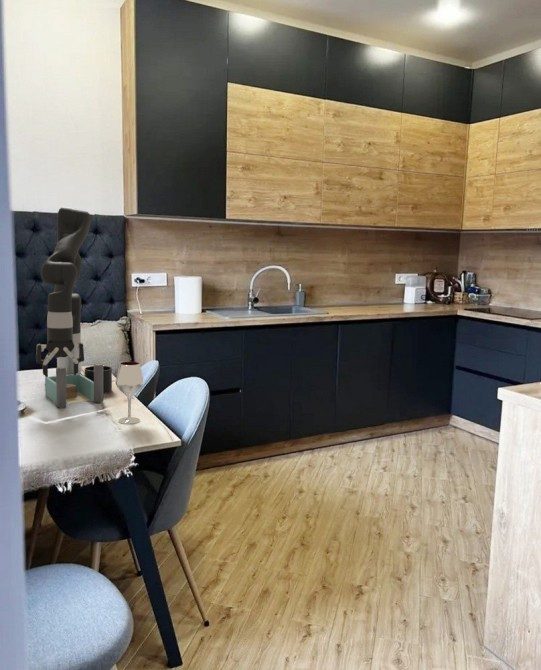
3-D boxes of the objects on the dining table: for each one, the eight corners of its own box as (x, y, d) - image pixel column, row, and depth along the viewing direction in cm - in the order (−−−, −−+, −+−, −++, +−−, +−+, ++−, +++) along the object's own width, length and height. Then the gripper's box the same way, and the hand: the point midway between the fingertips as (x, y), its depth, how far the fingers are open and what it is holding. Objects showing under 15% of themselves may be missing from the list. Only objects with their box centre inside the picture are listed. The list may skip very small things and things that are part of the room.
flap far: (98, 403, 185) (97, 366, 183) (88, 401, 187) (88, 364, 185) (105, 402, 187) (105, 364, 185) (95, 399, 190) (95, 362, 188)
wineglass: (132, 415, 176) (132, 359, 173) (148, 421, 171) (149, 363, 168) (110, 420, 169) (110, 363, 167) (126, 426, 164) (126, 367, 162)
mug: (110, 387, 210) (110, 363, 209) (112, 395, 199) (112, 370, 198) (84, 388, 207) (83, 364, 206) (85, 396, 196) (84, 371, 194)
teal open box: (45, 396, 193) (45, 377, 192) (80, 392, 200) (79, 373, 199) (57, 406, 182) (57, 385, 181) (93, 401, 189) (93, 381, 188)
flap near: (64, 403, 183) (64, 365, 181) (67, 407, 179) (66, 368, 177) (55, 404, 182) (54, 366, 180) (57, 408, 177) (56, 369, 175)
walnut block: (59, 396, 192) (59, 385, 191) (70, 394, 195) (70, 383, 194) (66, 399, 189) (66, 387, 189) (76, 396, 192) (76, 385, 192)
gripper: (81, 323, 182) (82, 371, 184) (34, 324, 175) (35, 374, 178) (85, 326, 175) (85, 376, 178) (36, 327, 169) (37, 379, 171)
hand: (60, 375), depth 178 cm, fingers open, 8 cm apart
